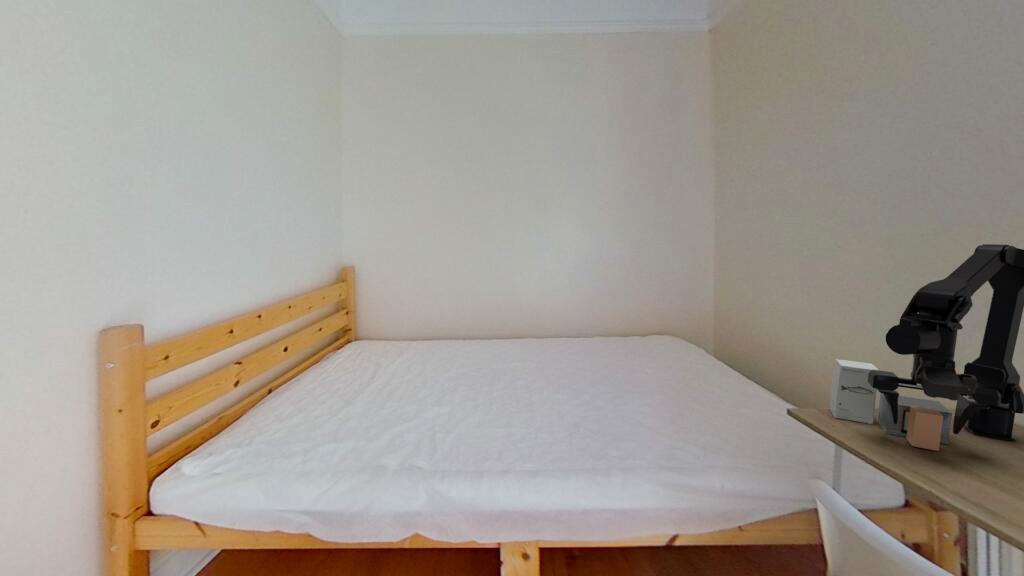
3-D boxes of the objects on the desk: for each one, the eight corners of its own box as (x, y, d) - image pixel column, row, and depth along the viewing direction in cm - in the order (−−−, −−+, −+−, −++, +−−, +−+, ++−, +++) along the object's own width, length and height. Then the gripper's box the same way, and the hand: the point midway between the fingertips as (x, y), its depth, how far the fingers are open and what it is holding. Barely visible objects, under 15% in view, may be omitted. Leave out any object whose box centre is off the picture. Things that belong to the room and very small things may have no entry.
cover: (919, 428, 99) (923, 397, 99) (938, 450, 88) (943, 416, 88) (895, 424, 101) (899, 394, 100) (912, 445, 90) (916, 411, 90)
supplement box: (833, 418, 105) (839, 364, 103) (828, 408, 111) (834, 357, 110) (873, 425, 101) (880, 369, 100) (866, 414, 108) (872, 362, 107)
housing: (934, 430, 99) (938, 401, 99) (948, 444, 92) (952, 413, 92) (877, 420, 104) (880, 392, 103) (885, 433, 97) (889, 403, 96)
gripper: (883, 353, 87) (874, 432, 88) (1021, 368, 78) (1008, 456, 79) (871, 342, 96) (863, 413, 98) (992, 355, 87) (981, 433, 89)
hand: (924, 428), depth 91 cm, fingers open, 9 cm apart
